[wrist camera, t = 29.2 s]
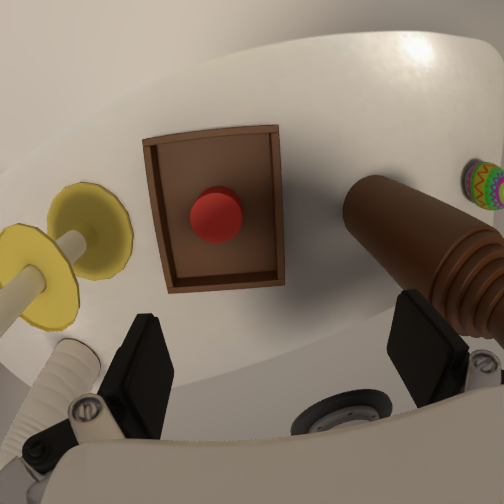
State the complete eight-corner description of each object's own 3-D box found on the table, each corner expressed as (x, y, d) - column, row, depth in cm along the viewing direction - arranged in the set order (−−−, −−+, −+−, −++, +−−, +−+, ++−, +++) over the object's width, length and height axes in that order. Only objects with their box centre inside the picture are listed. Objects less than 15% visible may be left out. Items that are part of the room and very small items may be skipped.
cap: (240, 184, 23) (241, 190, 21) (244, 229, 25) (244, 241, 22) (192, 188, 23) (186, 195, 21) (197, 233, 25) (193, 245, 22)
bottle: (399, 239, 27) (544, 380, 8) (341, 244, 27) (470, 427, 8) (405, 175, 24) (594, 274, 5) (343, 175, 24) (541, 301, 5)
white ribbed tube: (110, 370, 32) (52, 545, 9) (79, 378, 33) (21, 528, 10) (67, 318, 29) (-32, 496, 6) (39, 331, 30) (-49, 481, 7)
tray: (281, 272, 27) (285, 285, 25) (173, 280, 27) (168, 293, 25) (274, 125, 22) (278, 124, 20) (150, 138, 22) (141, 139, 20)
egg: (459, 205, 25) (495, 223, 20) (458, 160, 23) (497, 171, 18) (487, 199, 25) (522, 215, 20) (486, 157, 23) (523, 167, 18)
